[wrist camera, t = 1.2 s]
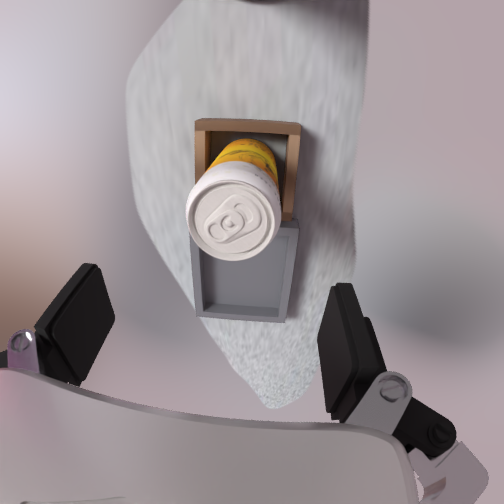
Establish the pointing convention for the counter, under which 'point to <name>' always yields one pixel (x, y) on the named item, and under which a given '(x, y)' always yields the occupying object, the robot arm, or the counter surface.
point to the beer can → (236, 202)
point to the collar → (250, 125)
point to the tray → (247, 280)
